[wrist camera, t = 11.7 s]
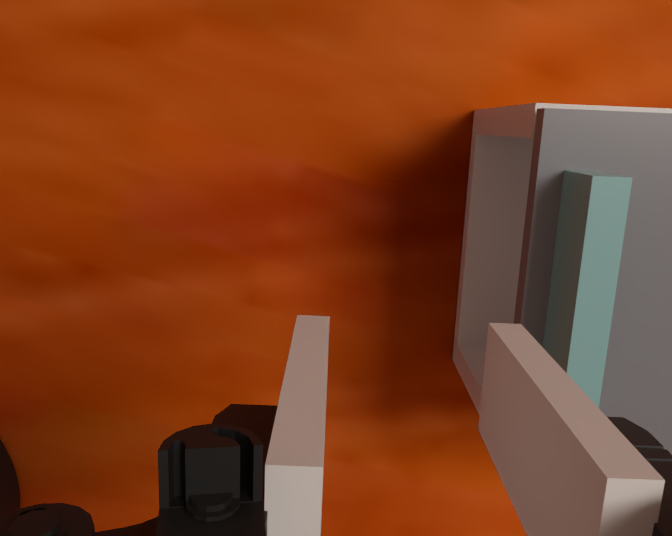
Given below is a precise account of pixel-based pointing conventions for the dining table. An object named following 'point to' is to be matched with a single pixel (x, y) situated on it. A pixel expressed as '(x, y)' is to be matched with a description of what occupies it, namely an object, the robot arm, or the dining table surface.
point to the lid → (603, 258)
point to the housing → (496, 228)
